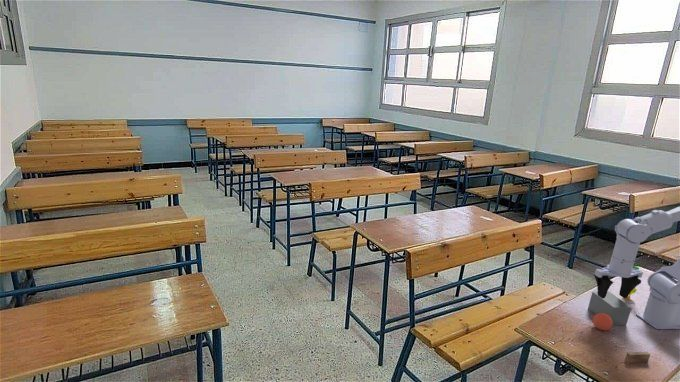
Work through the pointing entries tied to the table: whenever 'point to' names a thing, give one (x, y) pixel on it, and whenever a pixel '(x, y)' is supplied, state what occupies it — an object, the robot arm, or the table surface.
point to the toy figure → (634, 288)
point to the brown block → (637, 357)
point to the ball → (602, 321)
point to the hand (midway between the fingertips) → (611, 296)
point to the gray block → (610, 307)
